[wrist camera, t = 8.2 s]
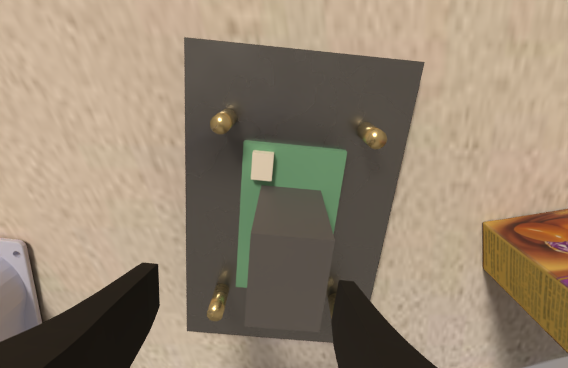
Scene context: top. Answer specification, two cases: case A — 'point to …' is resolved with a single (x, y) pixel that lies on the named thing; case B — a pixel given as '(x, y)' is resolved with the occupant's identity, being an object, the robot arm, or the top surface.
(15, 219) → the top surface
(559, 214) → the candy box
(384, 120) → the chassis plate
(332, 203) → the board
